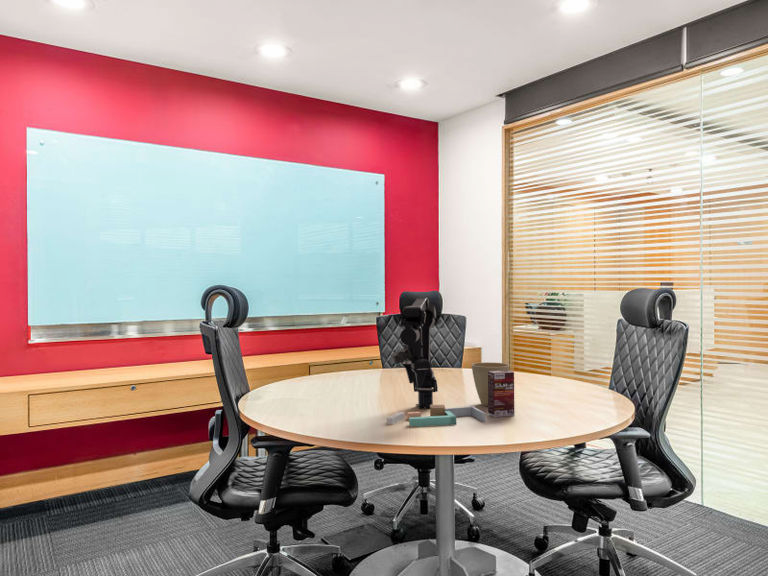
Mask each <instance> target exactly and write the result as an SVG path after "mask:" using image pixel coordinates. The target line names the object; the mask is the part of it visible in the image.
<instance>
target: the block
mask: <svg viewBox="0 0 768 576" xmlns="http://www.w3.org/2000/svg"><path fill="white" fill-rule="evenodd" d="M445 408H446V406H445V404H433V405H430V408H429V412H430V414H429V415H430V416H445Z"/></svg>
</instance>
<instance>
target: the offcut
mask: <svg viewBox="0 0 768 576" xmlns="http://www.w3.org/2000/svg"><path fill="white" fill-rule="evenodd" d="M406 413H407V414H406V415H407V418H406V419H407V420H408V421H409V417H422V412H420V411H410V412H406Z"/></svg>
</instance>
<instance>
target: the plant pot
mask: <svg viewBox="0 0 768 576" xmlns="http://www.w3.org/2000/svg"><path fill="white" fill-rule="evenodd" d="M471 370H472V376H473V381H474V382H473V383H474V385H475V389H476V393H477V396H478V399H479V401H480V402H479V403H481V405H482V406H484V407H488V372H491V371H510V364H508V363H504V362H474V363H471Z"/></svg>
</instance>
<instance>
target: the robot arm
mask: <svg viewBox="0 0 768 576" xmlns="http://www.w3.org/2000/svg"><path fill="white" fill-rule="evenodd" d="M436 319H437V311H436V306H435V304H433V303H432V302H431V301H430V299H429V298H428V297H416V298H415V299H414V302H413V303H412V305H409V306H408V305H407V306H405V307H404V308H403V309H402V312H401V318H400V327H404V329H403V330H402V331H401V333H400V335H399V340H400V341H401V343H403V344H404V345H403V348H402V349H399V350H397V351H395V352H393V353H391V354H390V359H391V360H392V361H391V362H392V364H395V365H398V364H400V365H401V366H402V367H403V368H404V369H405V371H406V375H407V379H408V383H409V384H412V385H413V392H414V393H416V392H417V393H418V395H417V397H418V398H417V399H418V403H416V404H415V406H416V407H417V408H419V409H430V405H434V395H433V393H436V392H438V391H439V390H438V387H439V386H438V380H437V379H436V376H435V373H434V371H433V368H432V362H431V329H432V328H433V326H434V325H435V320H436Z"/></svg>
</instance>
